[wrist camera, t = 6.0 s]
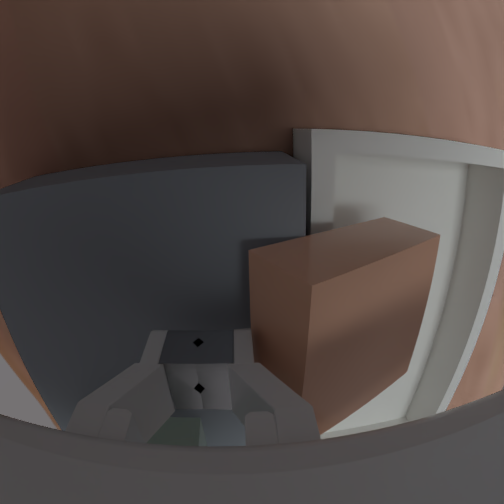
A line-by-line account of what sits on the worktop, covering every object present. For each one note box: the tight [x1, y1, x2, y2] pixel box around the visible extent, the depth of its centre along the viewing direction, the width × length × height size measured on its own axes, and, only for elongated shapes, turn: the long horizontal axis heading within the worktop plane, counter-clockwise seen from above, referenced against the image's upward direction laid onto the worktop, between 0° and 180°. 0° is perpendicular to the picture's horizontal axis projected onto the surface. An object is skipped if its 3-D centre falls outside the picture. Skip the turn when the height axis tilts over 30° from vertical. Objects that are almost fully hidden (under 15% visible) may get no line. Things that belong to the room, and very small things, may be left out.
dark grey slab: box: [0, 151, 306, 446], centre depth 14 cm, size 18×12×5 cm, turn 2°
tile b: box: [147, 417, 207, 446], centre depth 12 cm, size 6×6×2 cm
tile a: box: [248, 217, 440, 435], centre depth 10 cm, size 6×6×2 cm
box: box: [293, 129, 504, 439], centre depth 15 cm, size 20×10×4 cm, turn 2°
